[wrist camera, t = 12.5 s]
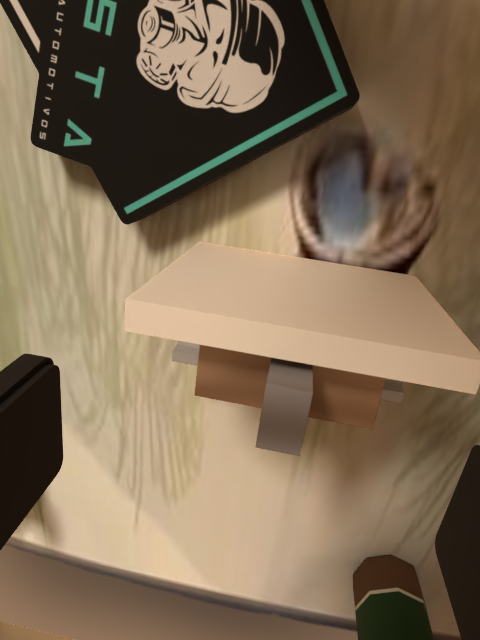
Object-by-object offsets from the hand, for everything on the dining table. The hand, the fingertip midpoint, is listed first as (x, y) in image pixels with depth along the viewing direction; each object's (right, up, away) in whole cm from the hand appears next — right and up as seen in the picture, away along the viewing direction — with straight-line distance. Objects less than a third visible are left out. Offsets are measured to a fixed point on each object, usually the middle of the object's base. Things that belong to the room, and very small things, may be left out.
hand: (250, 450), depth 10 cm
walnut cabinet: (+4, +3, +28) cm, 29 cm away
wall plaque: (-5, +26, +27) cm, 38 cm away
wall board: (+5, +4, +33) cm, 34 cm away
